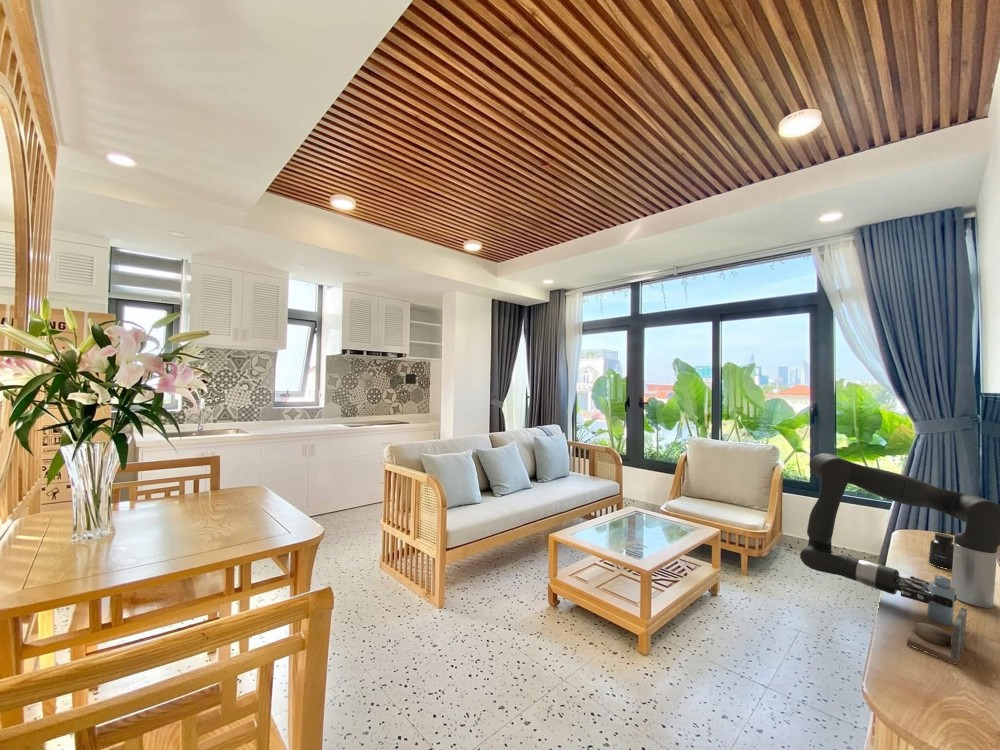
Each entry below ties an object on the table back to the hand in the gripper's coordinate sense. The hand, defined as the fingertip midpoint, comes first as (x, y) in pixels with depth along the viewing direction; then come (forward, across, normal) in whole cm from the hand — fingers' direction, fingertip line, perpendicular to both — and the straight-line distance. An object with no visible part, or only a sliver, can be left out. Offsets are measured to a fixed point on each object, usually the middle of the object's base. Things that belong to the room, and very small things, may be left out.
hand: (954, 601), depth 122 cm
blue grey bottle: (-3, 0, +7) cm, 7 cm away
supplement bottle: (-8, +54, +7) cm, 55 cm away
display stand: (-1, -18, +7) cm, 19 cm away
